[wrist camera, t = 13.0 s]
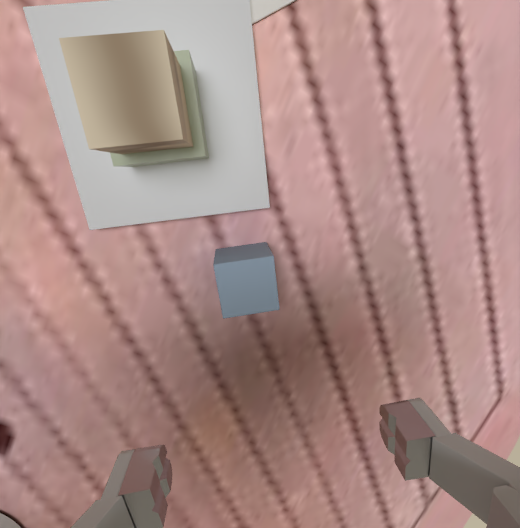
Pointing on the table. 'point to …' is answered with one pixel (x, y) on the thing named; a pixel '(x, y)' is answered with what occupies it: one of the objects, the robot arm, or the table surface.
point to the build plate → (220, 107)
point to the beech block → (128, 91)
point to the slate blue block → (246, 279)
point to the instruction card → (266, 8)
